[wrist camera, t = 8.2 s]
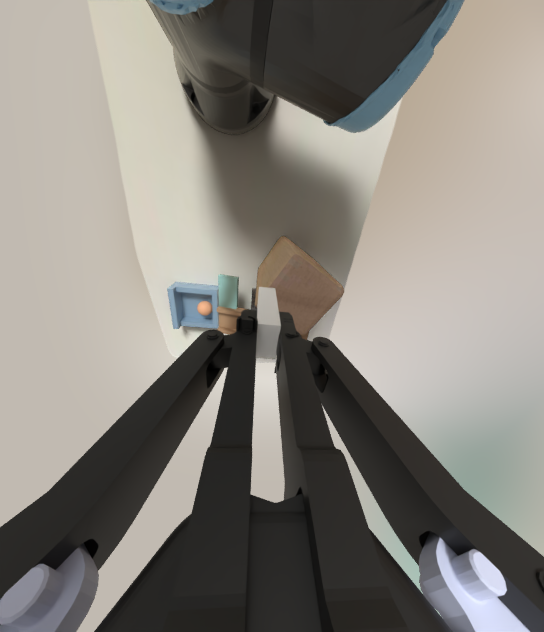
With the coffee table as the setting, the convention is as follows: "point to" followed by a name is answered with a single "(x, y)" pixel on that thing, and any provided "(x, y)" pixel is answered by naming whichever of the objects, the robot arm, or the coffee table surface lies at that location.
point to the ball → (204, 308)
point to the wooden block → (298, 284)
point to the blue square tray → (193, 305)
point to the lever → (230, 304)
